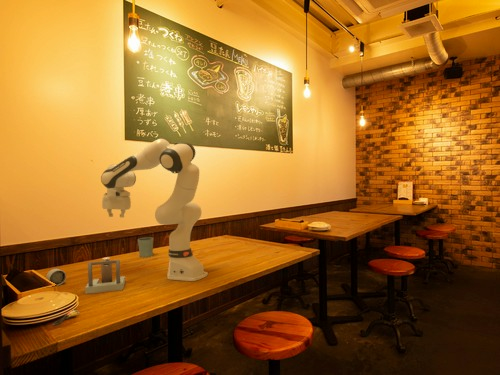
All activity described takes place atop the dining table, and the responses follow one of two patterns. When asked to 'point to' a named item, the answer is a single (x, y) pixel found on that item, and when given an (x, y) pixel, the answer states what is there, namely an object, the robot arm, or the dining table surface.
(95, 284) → the grey frame stand
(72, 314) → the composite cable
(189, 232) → the robot arm
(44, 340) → the dining table surface
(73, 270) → the dining table surface
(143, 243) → the grey tapered bin
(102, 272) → the sake bottle
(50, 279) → the ceramic mug
